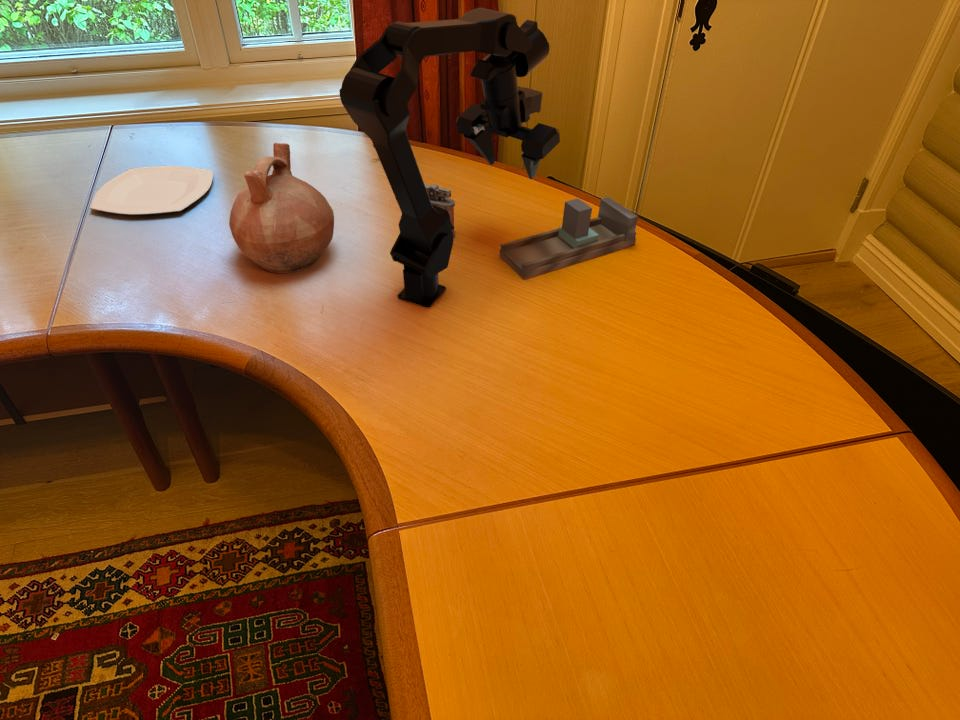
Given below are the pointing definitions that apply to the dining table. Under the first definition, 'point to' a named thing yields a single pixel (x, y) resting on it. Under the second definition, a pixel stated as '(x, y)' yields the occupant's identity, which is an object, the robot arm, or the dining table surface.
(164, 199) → the plate
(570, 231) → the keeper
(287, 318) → the dining table surface
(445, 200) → the lighter
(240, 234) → the jug
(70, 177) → the dining table surface
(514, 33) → the robot arm
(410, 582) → the dining table surface
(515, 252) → the rail
